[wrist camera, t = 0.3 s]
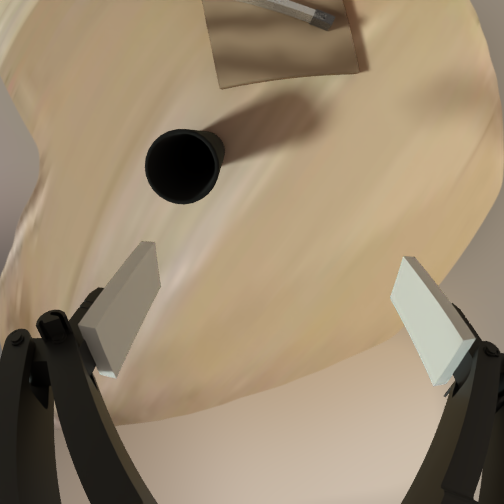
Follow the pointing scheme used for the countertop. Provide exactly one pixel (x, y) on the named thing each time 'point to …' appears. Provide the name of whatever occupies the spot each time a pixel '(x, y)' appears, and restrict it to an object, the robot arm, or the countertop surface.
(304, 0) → the board
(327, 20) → the tong arm
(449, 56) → the countertop surface
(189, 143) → the cup
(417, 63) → the countertop surface
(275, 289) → the countertop surface
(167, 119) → the countertop surface
